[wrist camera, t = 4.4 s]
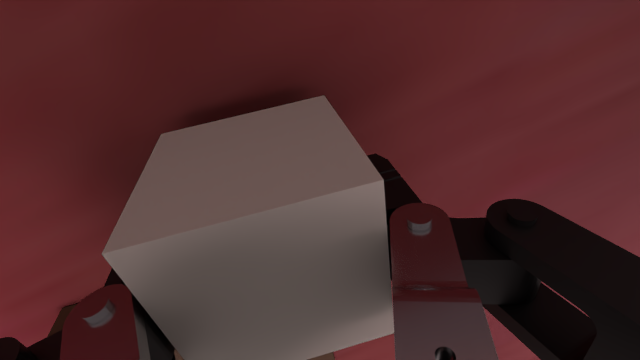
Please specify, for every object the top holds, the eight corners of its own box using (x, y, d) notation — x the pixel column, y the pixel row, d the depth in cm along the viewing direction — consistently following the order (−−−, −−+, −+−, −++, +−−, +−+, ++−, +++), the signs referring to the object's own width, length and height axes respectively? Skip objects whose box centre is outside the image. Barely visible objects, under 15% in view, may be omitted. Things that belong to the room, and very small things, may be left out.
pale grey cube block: (323, 95, 10) (383, 180, 6) (344, 217, 13) (394, 332, 9) (161, 134, 10) (102, 253, 5) (218, 251, 12) (207, 390, 8)
